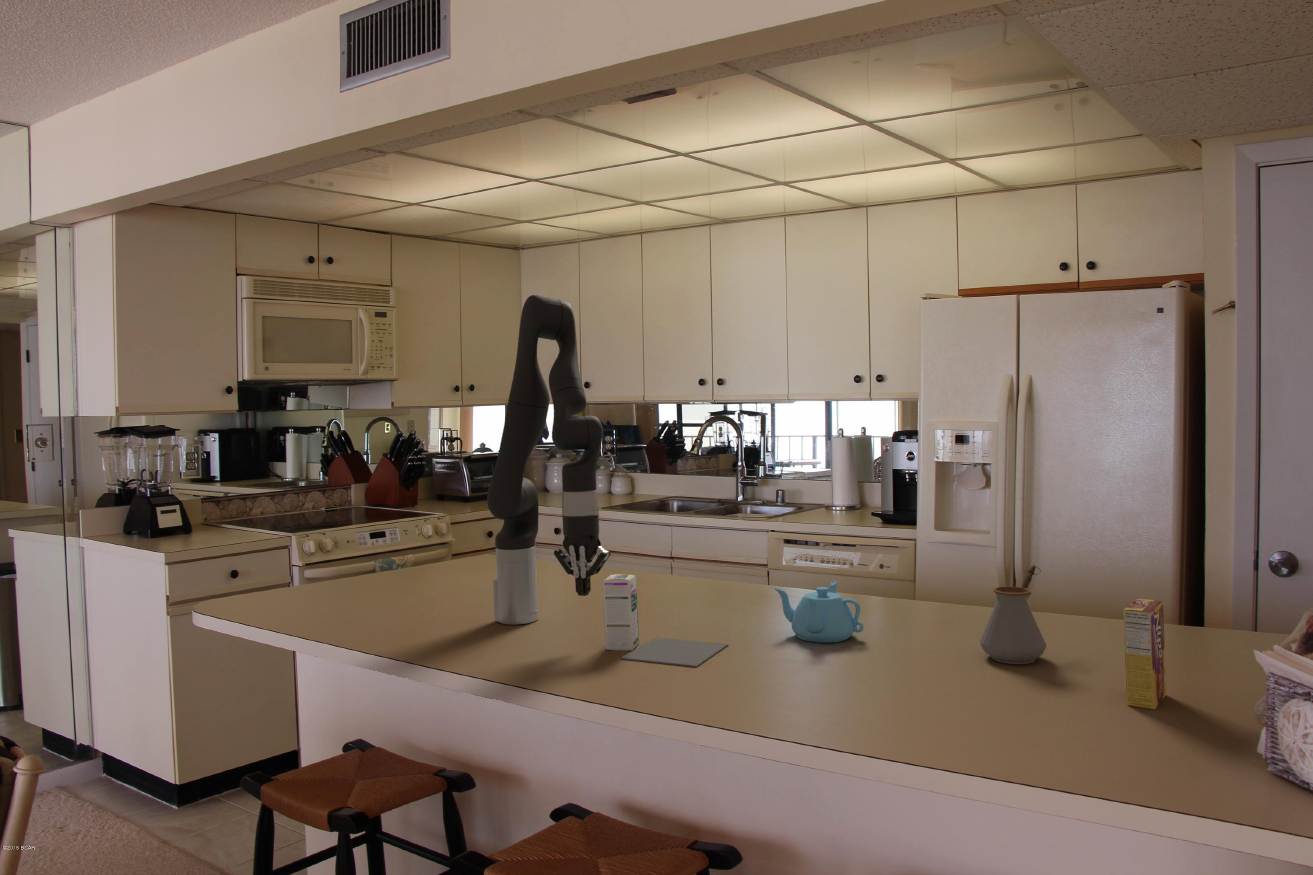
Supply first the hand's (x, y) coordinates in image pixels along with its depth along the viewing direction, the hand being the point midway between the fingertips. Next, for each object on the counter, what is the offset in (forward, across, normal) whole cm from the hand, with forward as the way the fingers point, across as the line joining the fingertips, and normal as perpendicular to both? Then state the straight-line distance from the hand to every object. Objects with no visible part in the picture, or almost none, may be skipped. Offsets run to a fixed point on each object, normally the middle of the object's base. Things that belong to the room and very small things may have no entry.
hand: (583, 595), depth 187 cm
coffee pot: (+10, +83, +22) cm, 86 cm away
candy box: (+10, +103, 0) cm, 103 cm away
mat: (+10, +21, 0) cm, 23 cm away
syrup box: (+10, +9, 0) cm, 14 cm away
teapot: (+10, +44, +21) cm, 50 cm away
